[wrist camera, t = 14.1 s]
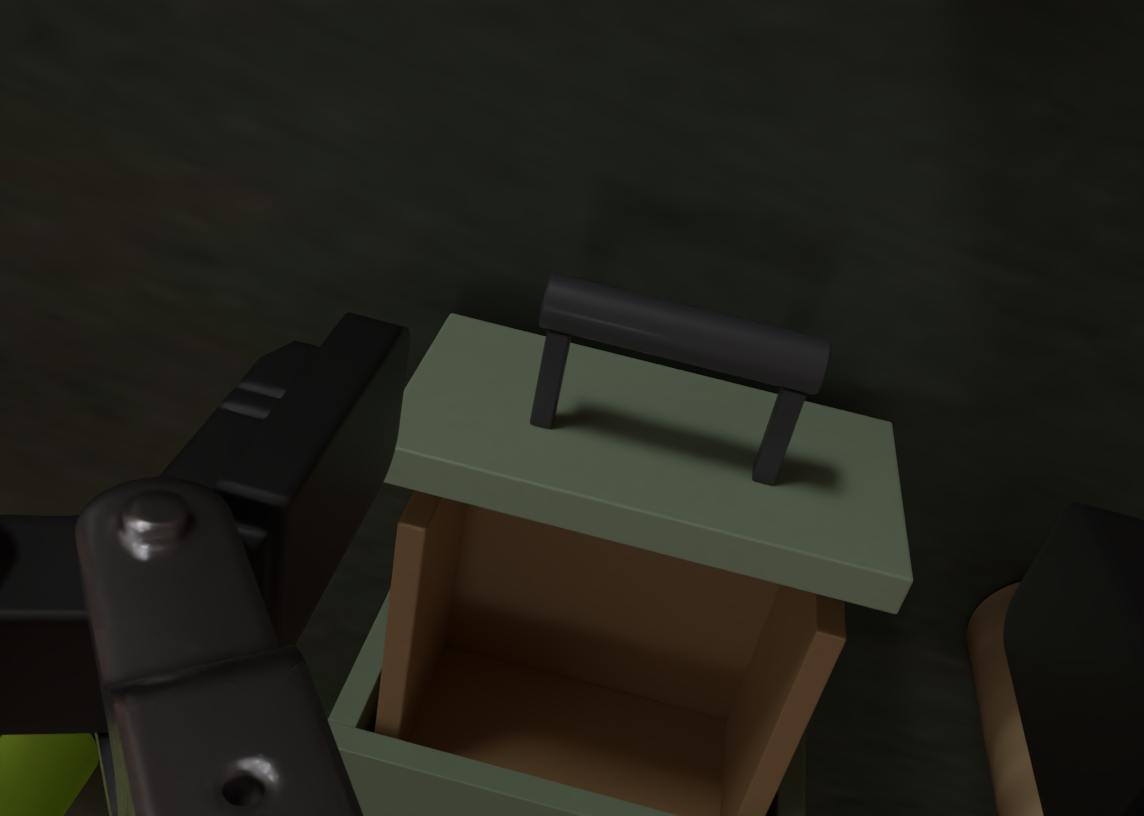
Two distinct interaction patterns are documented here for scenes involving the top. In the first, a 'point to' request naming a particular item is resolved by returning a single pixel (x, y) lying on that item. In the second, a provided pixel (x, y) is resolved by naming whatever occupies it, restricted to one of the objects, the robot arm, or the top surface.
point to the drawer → (631, 549)
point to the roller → (1000, 709)
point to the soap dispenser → (44, 772)
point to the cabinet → (469, 766)
